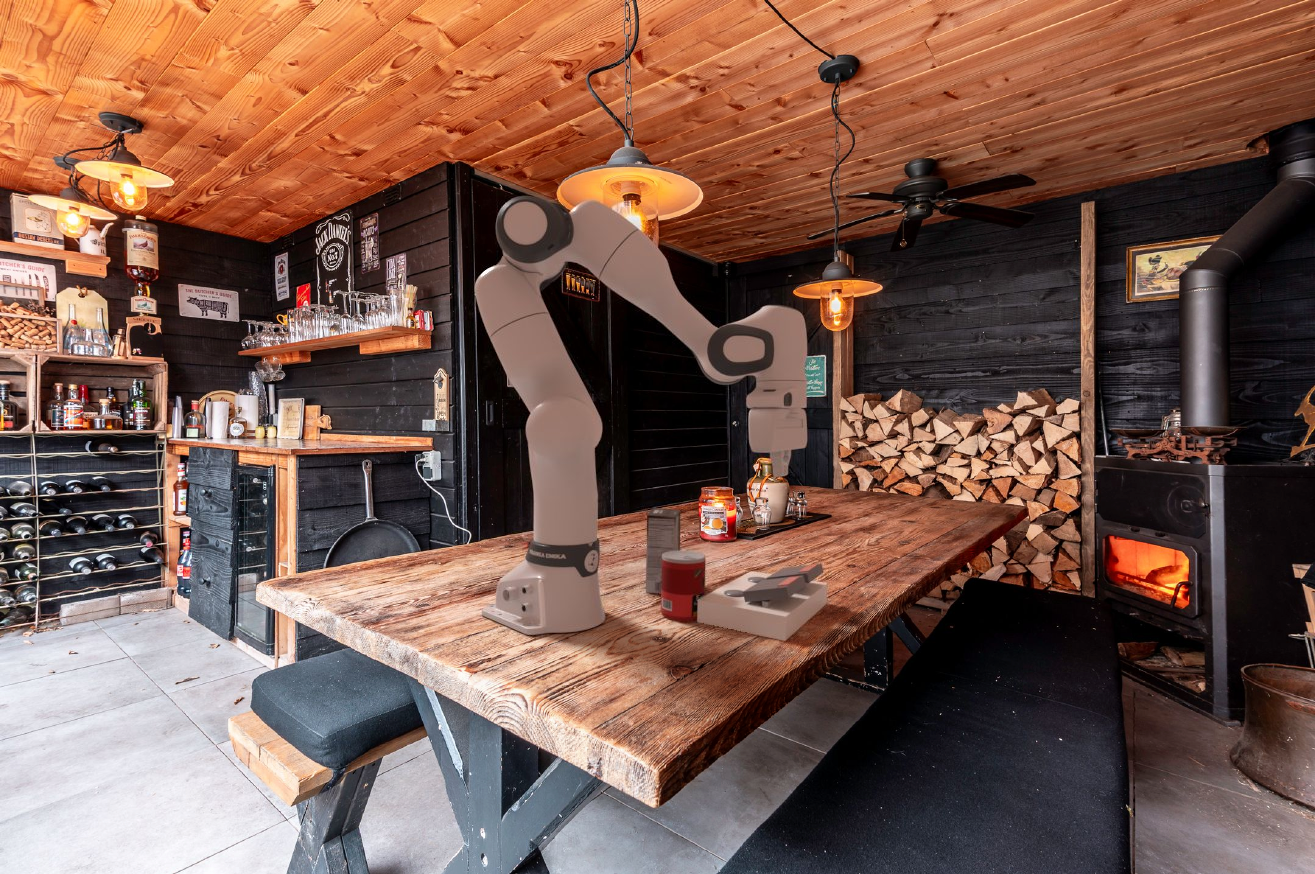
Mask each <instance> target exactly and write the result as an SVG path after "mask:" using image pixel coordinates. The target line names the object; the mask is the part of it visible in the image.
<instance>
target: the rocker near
mask: <svg viewBox="0 0 1315 874" xmlns="http://www.w3.org/2000/svg"><path fill="white" fill-rule="evenodd" d="M804 586H806V584H805V580H804V576H794V577H786V578H777V579H768V580H762V581H760V582H758V583H757V584H755V585H753V586H752V587H750V588H748V589H747V590H745V591H743V595H744V599H745V602H752V601H762V600H773V599H783V598H789V597H791V596H792V595H793V594H795V593H796V592H798V591H799V590H800V589H802V588H803V587H804Z"/></svg>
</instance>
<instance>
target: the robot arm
mask: <svg viewBox="0 0 1315 874" xmlns="http://www.w3.org/2000/svg"><path fill="white" fill-rule="evenodd" d="M495 235H496V239H497V242H498V244H499V247H500V249H501V250H502V255H503V256H502V257H501V259H500V260H499V262H498V263H497V264H496V265H493V266H491V267H489V268H487V269H486V270H484V271H483V272H482V273H481V274H480V275H479V276H478V277H477V279H476V282H475V284H474V293H475V299H476V303H477V306H478V311H479V313H480V317H481V319H482V322H483V324H484V327H485V330H486V333H487V334H488V337H489V339H490V342H491V344H492V346H493V349H494V350H495V352H496V354H497V357H498V359H499V361H500V364H501V365H502V367H503V370H504V371H505V374H506V376H507V379H508V381H509V382H510V384H511V385H512V386H513V388H514V389H515V390H516V392H517V393H518V395H519V396H520V399H522V402H523V403H524V404H525V406H526V408H527V409H528V411H529V413H530V414H529V416H528V418H527V421H526V424H525V436H526V440H527V447H528V458H529V459H528V460H529V467H530V474H531V481H532V489H533V490H532V491H533V537H532V539H531V540H530V541H526V542H525V541H524V542H522V543H521V545H522V547H521V548H520V549H521V550H526V549H527V551H526V554H525V557H524V558H525V559H524V560H523V561H522V562H520V563H519V564H517V565H516V566H515V567H514V568H513V569H511V570H510V571H509V572H507V573H506V574H505V575H504V576H502V577H501V578H500V580H498V583H497V586H496V591H495V600H494V601H492V602H490V603H487V605H485V606H484V607H483V608H482V609H481V616H483V617H485V618H487V619H490V620H493V621H495V622H497V623H499V624H502V625H504V626H506V627H508V628H510V629H513V630H515V631H518V632H520V633H522V634H524V635H528V636H531V635H532V636H535V635H542V634H550V633H551V634H553V633H555V634H556V633H572V632H573V633H574V632H579V631H580V632H581V631H586V630H589V629H592V628H595V627H598V626H599V625H601V624H602V623H603V622H605V620H606V613H605V610H604V606H603V603H602V597H601V589H600V582H599V571H598V570H599V565H600V559H601V558H600V557H601V555H600V554H601V553H600V552H601V551H600V549H601V548H600V538H598V517H599V516H598V514H599V513H598V512H599V511H598V509H599V508H598V507H599V506H598V505H599V501H598V500H599V498H598V497H599V493H598V486H597V473H596V472H597V471H596V453H595V451H596V449H595V448H596V447H598V445H599V442H600V441H601V439H602V433H603V421H602V418H601V416H600V414H599V412H598V409H597V408H596V405H595V404H594V402H593V400H592V397H591V396H590V394H589V392H588V390H587V388H586V386H585V384H584V381H582V379H581V377H580V374H579V372H578V371H577V369H576V367H575V365H574V364H573V362H572V360H571V357H570V356H569V354H568V351H567V350H566V347H565V345H564V343H563V341H562V338H561V336H560V334H559V332H558V329H557V327H556V325H555V323H554V321H553V318H552V317H551V314H550V312H549V310H548V309H547V306H546V304H545V302H544V299H543V297H542V294H541V292H542V291H544V289H545V288H547V287H548V286H549V285H550V284H551V283H552V282H554V281H556V280H557V279H558V278H559V277H560V276H561V275H562V274H563V273H564V270H565V269H566V268H567V264H568V262H571V263H577V265H580V266H582V267H584V268H586V269H588V271H589V272H591V273H592V274H593V276H595V277H596V278H597V279H598V280H599V281H601V282H602V283H603V284H604V285H605V286H606V287H608V288H609V289H610V290H611V291H613V292H614V293H615V294H617V295H619V296H621V297H622V298H624V299H625V300H627V301H628V302H630V303H631V304H633V306H634V305H635V306H636V307H637V308H639V309H641V310H642V311H644V312H645V313H647V314H649V316H652V317H653V318H655V319H656V320H657V321H658V322H659V323H660V324H662V326H664V327H665V328H666V329H667V330H668V331H669V332H670V333H671V334H672V335H674V336H675V337H676V338H677V339H678V340H679V341H680V342H681V343H682V344H684V345H685V346H686V347H687V348H688V349H689V350H690V351H691V353H692V354H693V355H694V358H695V359H696V361H697V364H698V366H699V368H700V370H701V372H702V373H703V374H704V376H705V377H706V378H707V379H708V380H710V381H711V382H713V383H714V384H718V385H723V386H729V385H733V384H737V383H739V382H740V381H741V380H742V379H744V378H745V377H747V376H754V377H755V381H756V384H755V388H754V389H753V391H752V392H750V393H749V394H748V395H746V408H748V409H750V410H749V412H748V440H749V441H748V442H749V443H748V444H749V446H750V449H751V451H752V452H753V453H760V454H761V453H765V454H766V453H768V454H769V459H770V461H771V462H770V463H771V466H772V475H773V476H774V477H776V478H777V477H785V476H787V475H788V474H789V465H790V462H791V461H790V460H791V457H792V450H799V449H805V448H806V447H807V443H808V427H807V425H808V424H807V423H808V422H807V413H806V410H805V408H807V399H808V398H807V395H808V394H807V391H808V390H807V389H808V378H807V375H806V370H805V369H806V368H805V366H806V362H807V359H808V338H807V337H808V336H807V326H806V321H805V318H804V317H805V316H804V315H803V313H801V312H800V311H799V309H798V310H797V309H795V308H794V307H791V306H787V305H781V304H768V305H764V306H762V307H760V309H759V310H758V311H756V312H755V313H753V314H751V315H749V316H747V317H746V318H743V319H740V320H738V321H733V322H731V323H727V324H725V325H722V326H720V327H719V328H718V327H717V326H715V325H713V324H712V323H711V322H710V321H709V320H708V319H707V318H705V316H704V315H703V314H702V313H700V312H699V310H697V309H696V308H695V307H694V306H693V305H692V304H691V303H690V302H689V301H688V300H687V299H686V298H685V297H684V296H683V295H682V294H681V292H680V291H679V289H678V287H677V285H676V283H675V281H674V279H673V275H672V272H671V269H670V265H669V262H668V259H667V258H666V257H665V255H664V254H663V252H662V251H661V250H660V248H659V247H658V246H657V245H656V244H655V243H654V242H653V240H652V239H651V238H649V236H647V234H645V232H643V231H642V230H640V229H639V227H637V226H636V225H634V223H632V222H631V221H629V220H628V218H626V217H625V216H623V215H621V214H620V213H618V212H617V211H616V210H614V209H613V208H612V207H609V206H608V205H605V204H604V203H602V202H600V201H598V200H594V199H593V200H592V199H590V200H589V199H588V200H585V201H584V200H583V201H582V202H580V203H579V204H577V205H576V206H574V207H573V208H572V209H571V210H570V211H569V210H568V209H567V208H566V206H565V205H563V204H561V203H557V202H552V201H547V200H545V199H542V198H539V197H536V196H531V195H521V196H516V197H513V198H511V199H509V200H508V201H507V202H505V204H503V206H501V208H500V210H499V212H498V214H497V217H496V222H495ZM523 545H524V546H523Z"/></svg>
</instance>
